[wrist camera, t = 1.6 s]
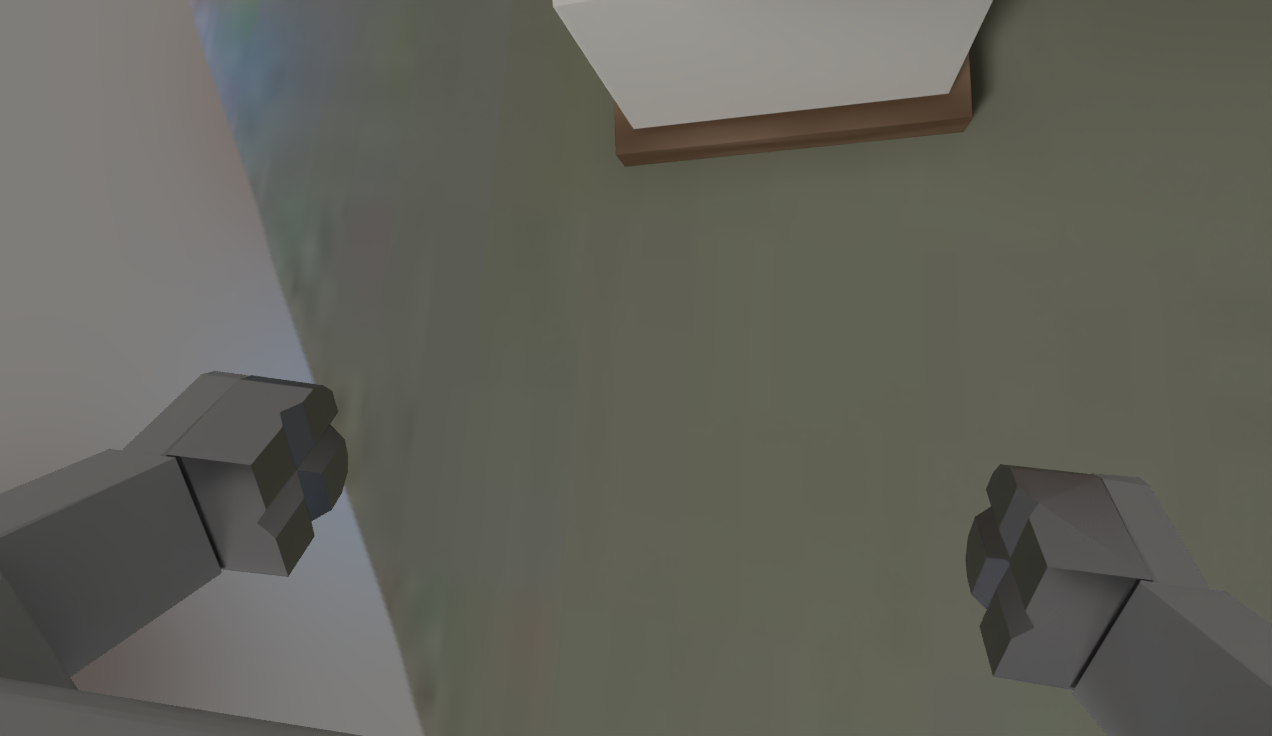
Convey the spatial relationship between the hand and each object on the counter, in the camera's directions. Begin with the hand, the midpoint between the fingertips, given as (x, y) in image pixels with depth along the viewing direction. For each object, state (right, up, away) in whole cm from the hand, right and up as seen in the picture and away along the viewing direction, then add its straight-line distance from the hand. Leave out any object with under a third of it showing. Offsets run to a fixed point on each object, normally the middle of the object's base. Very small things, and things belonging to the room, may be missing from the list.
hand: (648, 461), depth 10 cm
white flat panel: (+7, +14, +26) cm, 30 cm away
